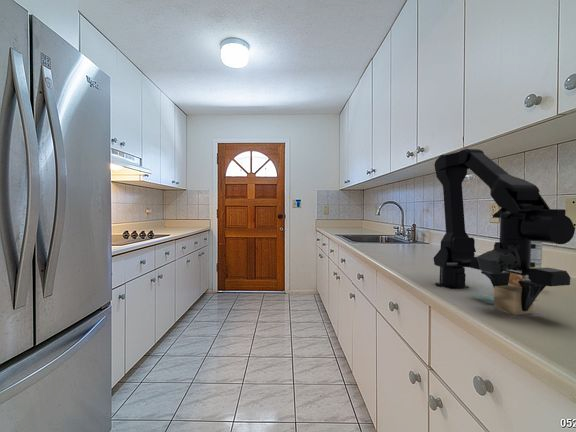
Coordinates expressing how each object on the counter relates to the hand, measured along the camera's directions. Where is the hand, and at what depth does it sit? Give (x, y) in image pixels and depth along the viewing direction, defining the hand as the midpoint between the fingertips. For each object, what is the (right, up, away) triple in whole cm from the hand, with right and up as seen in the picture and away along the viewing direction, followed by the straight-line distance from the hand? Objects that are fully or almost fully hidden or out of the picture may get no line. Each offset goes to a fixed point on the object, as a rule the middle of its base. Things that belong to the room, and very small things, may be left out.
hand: (512, 306), depth 67 cm
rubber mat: (+1, -1, +8) cm, 8 cm away
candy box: (+18, -1, +20) cm, 27 cm away
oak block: (0, -1, 0) cm, 1 cm away
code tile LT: (0, -1, 0) cm, 1 cm away
